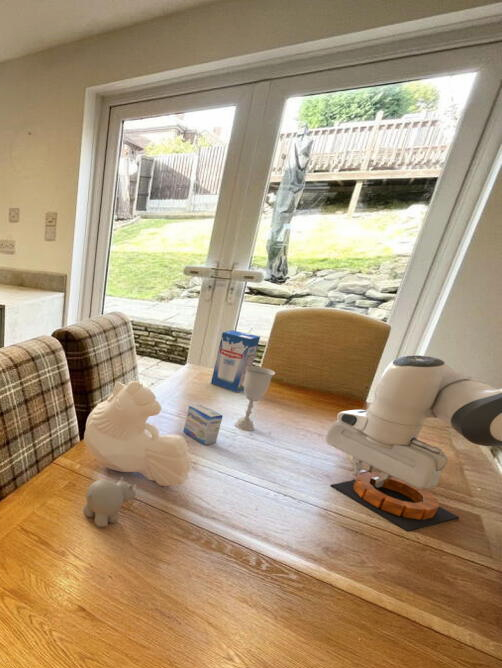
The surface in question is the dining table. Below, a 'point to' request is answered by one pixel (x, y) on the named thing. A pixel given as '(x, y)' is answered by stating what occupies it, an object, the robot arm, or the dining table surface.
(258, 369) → the chalice
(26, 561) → the dining table surface
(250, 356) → the milk carton
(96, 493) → the toy rhinoceros
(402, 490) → the top ring
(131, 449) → the decorative rooster
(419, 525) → the mat
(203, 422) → the medicine box
